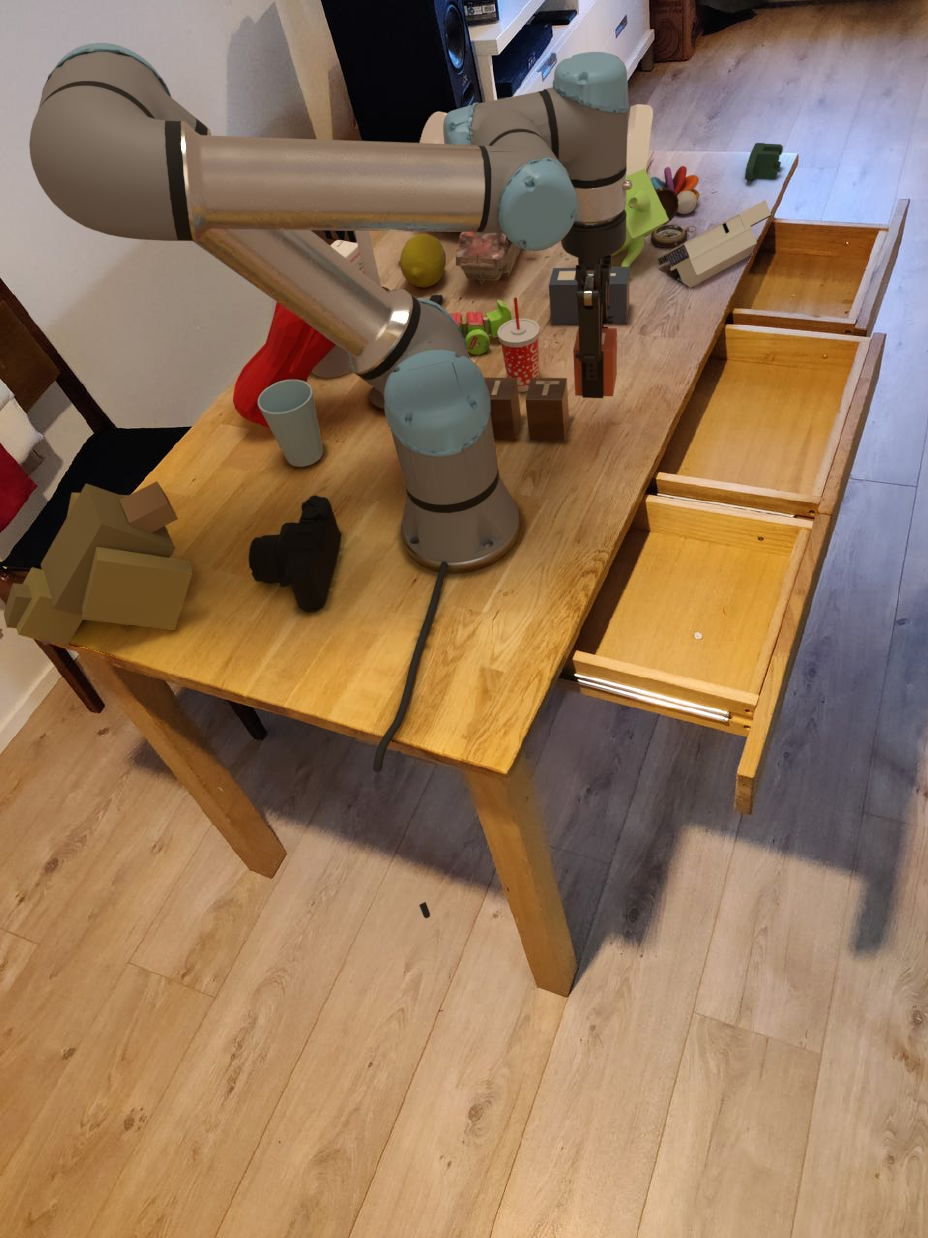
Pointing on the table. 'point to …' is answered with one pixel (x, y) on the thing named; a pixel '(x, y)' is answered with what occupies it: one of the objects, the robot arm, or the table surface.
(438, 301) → the usb flash drive
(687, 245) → the building
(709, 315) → the table surface
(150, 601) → the olive block assembly
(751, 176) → the mount
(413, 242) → the lemon
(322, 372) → the cup
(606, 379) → the orange red block
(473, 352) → the toy crocodile
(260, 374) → the water bottle
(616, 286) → the blue grey marked block
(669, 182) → the rainbow-tailed turkey
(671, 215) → the compass
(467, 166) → the robot arm
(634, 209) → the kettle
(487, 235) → the decorative box
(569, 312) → the dark grey upright block
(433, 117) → the plastic lid
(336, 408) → the table surface
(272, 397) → the cup
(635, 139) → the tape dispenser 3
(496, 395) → the tile
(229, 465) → the table surface
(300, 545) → the film camera
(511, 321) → the beverage cup
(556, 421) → the tile
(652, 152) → the stylus pen
